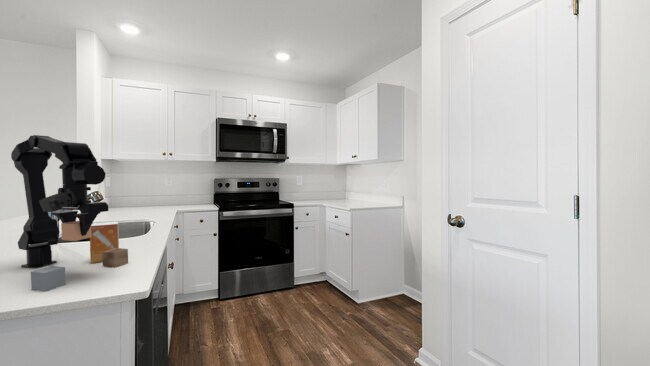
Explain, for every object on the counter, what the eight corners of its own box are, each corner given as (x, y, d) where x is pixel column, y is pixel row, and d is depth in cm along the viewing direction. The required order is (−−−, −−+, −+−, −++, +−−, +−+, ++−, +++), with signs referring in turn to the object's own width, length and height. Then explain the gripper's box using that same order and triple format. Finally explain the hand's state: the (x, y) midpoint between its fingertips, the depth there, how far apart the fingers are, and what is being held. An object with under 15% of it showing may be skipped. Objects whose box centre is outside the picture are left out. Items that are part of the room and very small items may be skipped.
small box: (90, 263, 103) (89, 225, 102) (92, 259, 108) (90, 223, 108) (119, 259, 107) (118, 223, 107) (119, 255, 113) (118, 221, 112)
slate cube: (31, 290, 81) (30, 271, 80) (52, 283, 85) (51, 265, 85) (45, 291, 79) (44, 273, 79) (66, 284, 84) (65, 267, 84)
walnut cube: (102, 266, 100) (102, 251, 100) (116, 262, 105) (115, 248, 105) (115, 267, 99) (114, 252, 99) (128, 263, 104) (127, 248, 103)
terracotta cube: (61, 240, 90) (61, 223, 90) (79, 236, 95) (78, 220, 95) (74, 240, 89) (74, 224, 89) (91, 237, 94) (90, 221, 94)
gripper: (20, 185, 86) (22, 239, 87) (70, 185, 82) (73, 243, 82) (62, 183, 97) (64, 231, 97) (109, 183, 92) (110, 234, 93)
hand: (76, 235), depth 92 cm, fingers closed on terracotta cube, 5 cm apart
